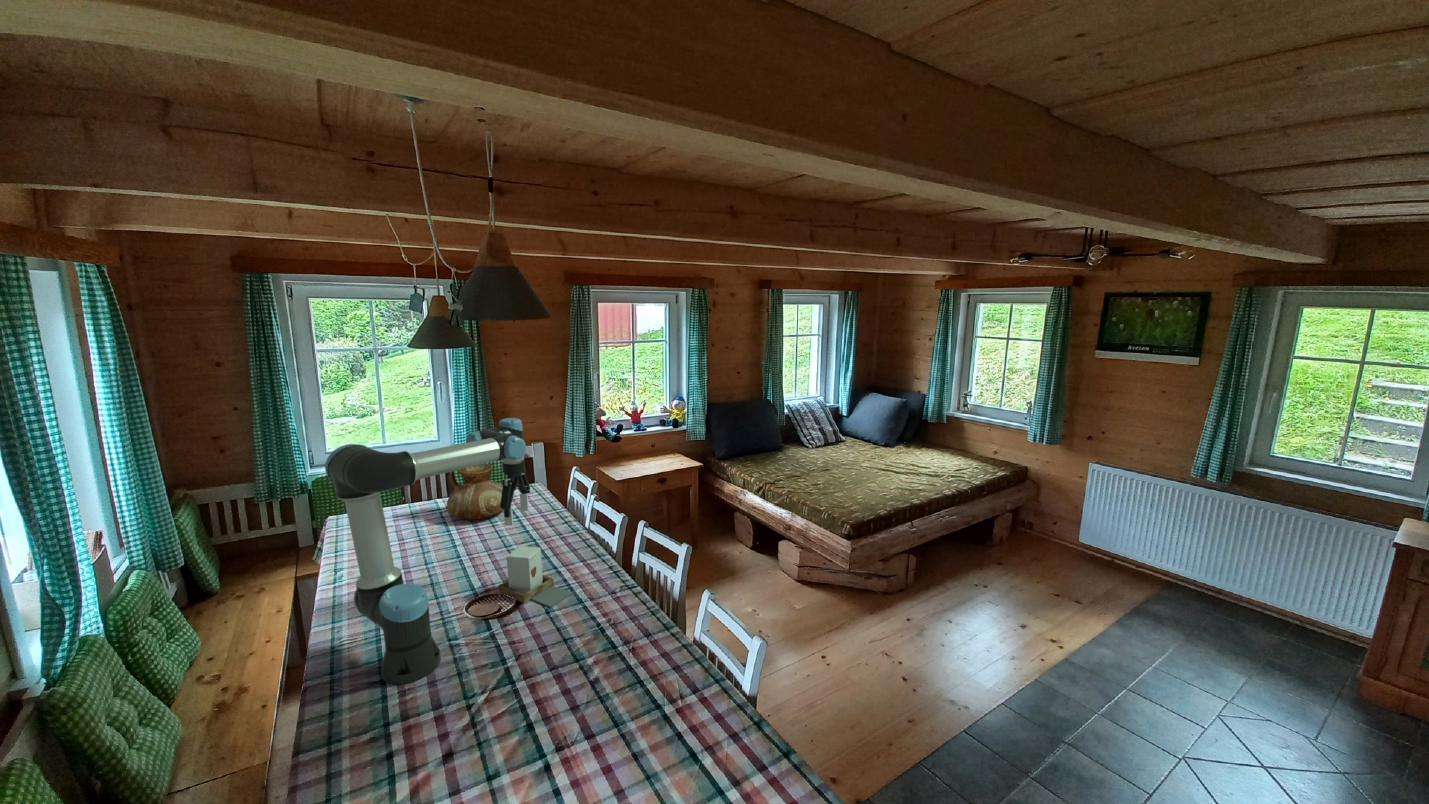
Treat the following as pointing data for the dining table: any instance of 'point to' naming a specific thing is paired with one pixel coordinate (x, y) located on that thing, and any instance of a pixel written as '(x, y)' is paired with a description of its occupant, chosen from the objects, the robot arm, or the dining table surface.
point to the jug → (475, 494)
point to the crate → (527, 596)
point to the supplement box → (524, 569)
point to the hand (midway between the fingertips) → (517, 517)
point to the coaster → (551, 596)
